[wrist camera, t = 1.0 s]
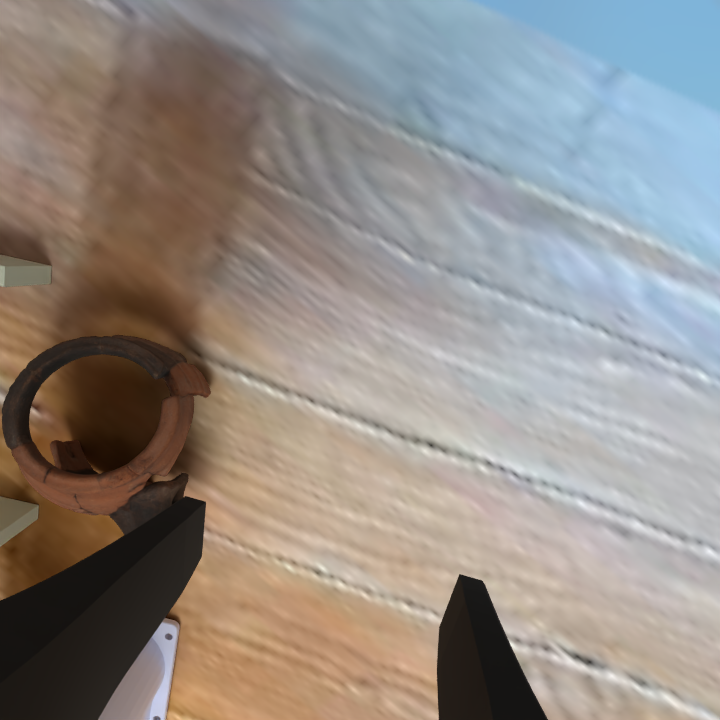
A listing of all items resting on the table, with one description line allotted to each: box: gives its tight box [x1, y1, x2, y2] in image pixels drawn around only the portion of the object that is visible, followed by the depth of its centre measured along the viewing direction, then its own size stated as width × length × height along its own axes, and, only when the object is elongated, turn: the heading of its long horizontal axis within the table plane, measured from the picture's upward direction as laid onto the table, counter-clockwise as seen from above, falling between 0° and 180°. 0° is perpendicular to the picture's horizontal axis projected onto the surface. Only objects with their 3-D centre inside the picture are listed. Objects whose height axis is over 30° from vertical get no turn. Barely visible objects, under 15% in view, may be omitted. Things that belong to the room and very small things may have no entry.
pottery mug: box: [2, 335, 211, 535], centre depth 23 cm, size 12×10×8 cm
